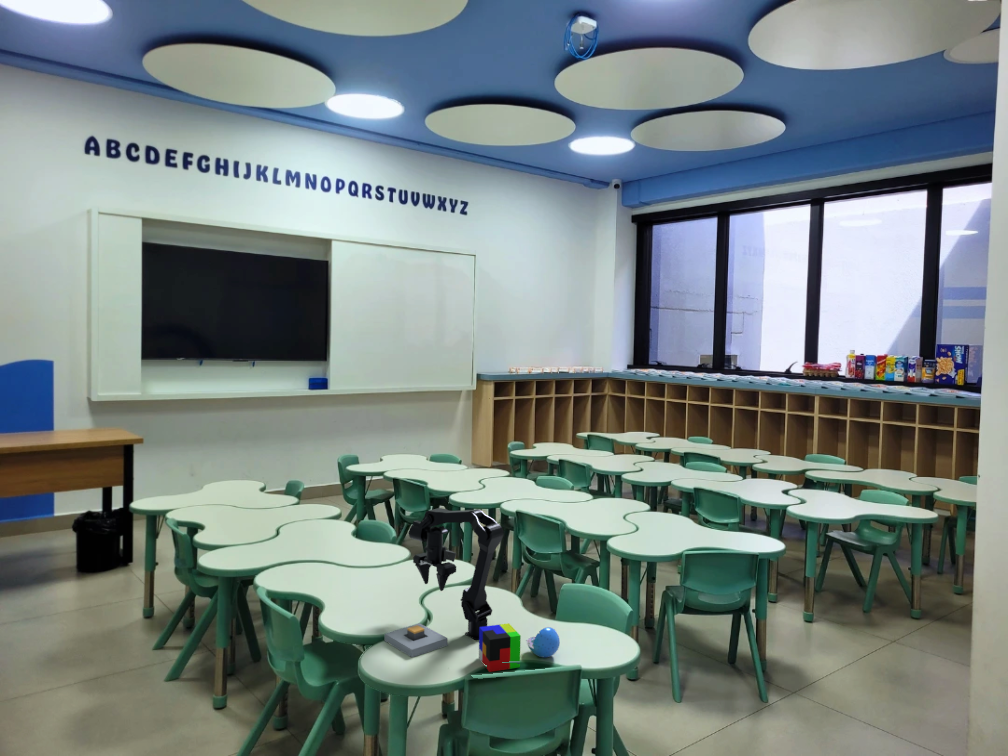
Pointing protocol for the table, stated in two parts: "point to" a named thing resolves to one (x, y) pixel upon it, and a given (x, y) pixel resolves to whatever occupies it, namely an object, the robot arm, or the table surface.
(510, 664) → the puzzle toy
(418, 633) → the orange-topped grey block
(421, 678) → the table surface
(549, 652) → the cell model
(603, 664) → the table surface
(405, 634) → the plate
